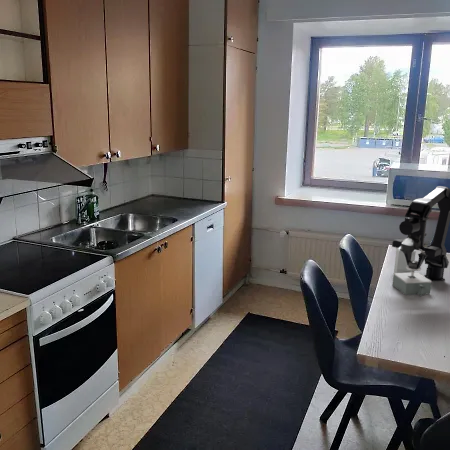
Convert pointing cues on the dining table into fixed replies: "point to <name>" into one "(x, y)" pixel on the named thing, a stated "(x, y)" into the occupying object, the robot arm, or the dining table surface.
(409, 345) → the dining table surface
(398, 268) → the supplement box
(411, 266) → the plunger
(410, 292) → the pale grey box
